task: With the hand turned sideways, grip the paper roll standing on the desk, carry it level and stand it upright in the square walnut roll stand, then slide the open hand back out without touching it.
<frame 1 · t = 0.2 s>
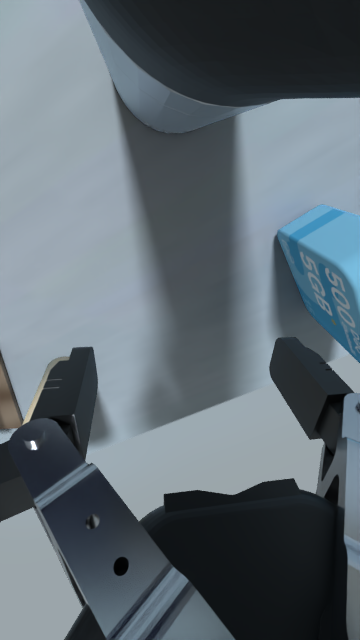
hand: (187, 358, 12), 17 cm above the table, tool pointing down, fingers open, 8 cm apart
paper roll: (68, 373, 34), on the table
data package: (309, 262, 30), on the table
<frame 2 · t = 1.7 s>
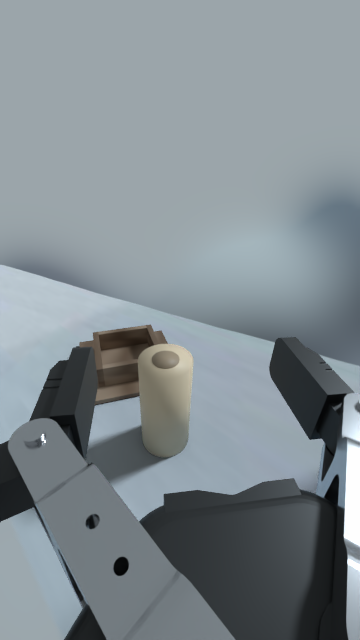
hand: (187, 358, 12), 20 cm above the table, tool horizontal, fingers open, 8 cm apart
roll stand: (128, 363, 42), on the table
paper roll: (165, 436, 31), on the table
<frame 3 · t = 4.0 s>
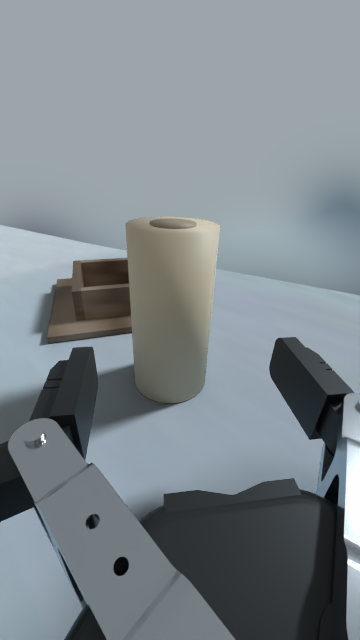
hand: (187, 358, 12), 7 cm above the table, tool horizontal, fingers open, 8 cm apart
roll stand: (120, 301, 32), on the table
paper roll: (170, 377, 21), on the table
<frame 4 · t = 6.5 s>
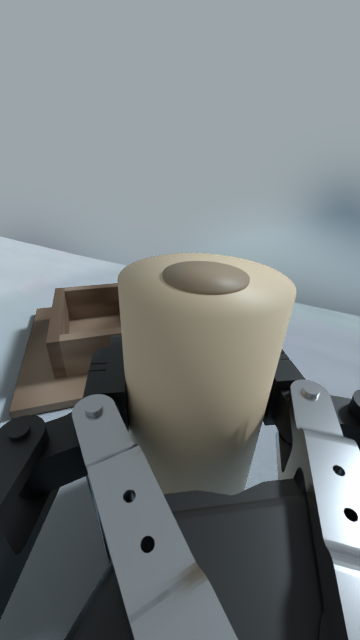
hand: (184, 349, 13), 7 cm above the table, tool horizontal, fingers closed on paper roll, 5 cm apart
roll stand: (115, 340, 25), on the table
paper roll: (186, 487, 14), on the table, touching gripper
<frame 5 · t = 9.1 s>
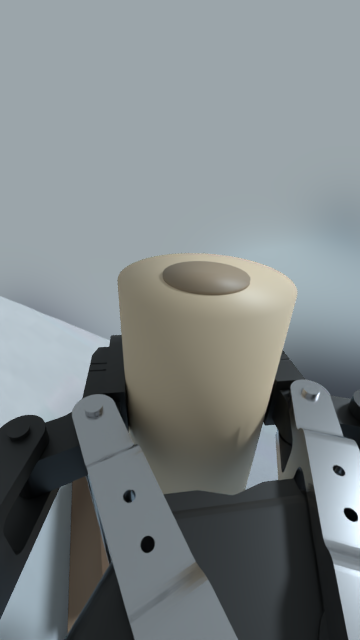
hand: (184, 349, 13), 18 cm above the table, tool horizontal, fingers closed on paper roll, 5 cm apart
roll stand: (160, 508, 23), on the table
paper roll: (187, 487, 14), point 11 cm above the table, touching gripper
when the fingers open (9 cm above the table, at t = 12.0 s): paper roll drops 2 cm, resting on roll stand.
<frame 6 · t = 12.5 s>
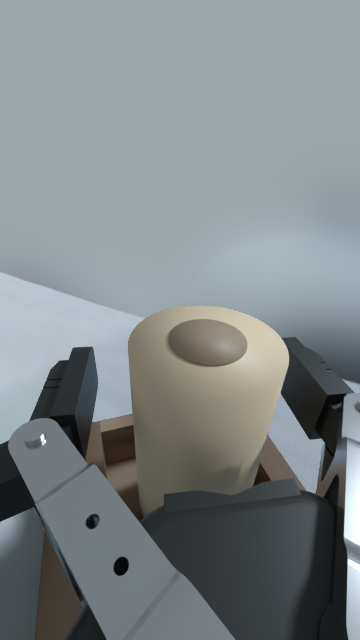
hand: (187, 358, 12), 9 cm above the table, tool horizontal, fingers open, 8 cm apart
roll stand: (184, 516, 15), on the table
paper roll: (189, 512, 15), point 1 cm above the table, touching roll stand
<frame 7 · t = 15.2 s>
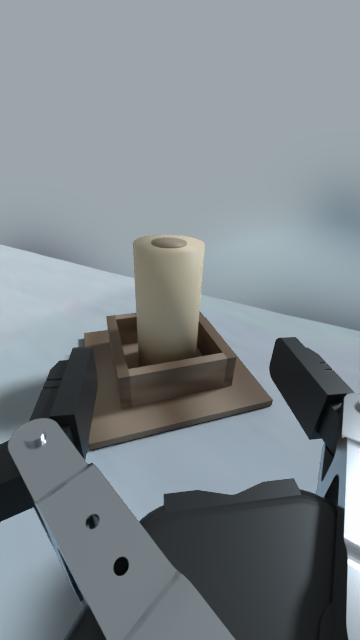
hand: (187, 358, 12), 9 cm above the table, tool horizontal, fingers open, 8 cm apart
roll stand: (164, 366, 26), on the table
paper roll: (167, 362, 26), point 1 cm above the table, touching roll stand
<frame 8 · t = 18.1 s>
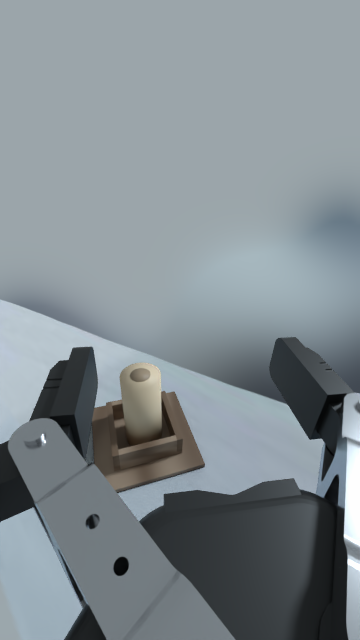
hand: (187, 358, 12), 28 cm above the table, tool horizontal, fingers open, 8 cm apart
roll stand: (142, 436, 41), on the table
paper roll: (144, 433, 41), point 1 cm above the table, touching roll stand
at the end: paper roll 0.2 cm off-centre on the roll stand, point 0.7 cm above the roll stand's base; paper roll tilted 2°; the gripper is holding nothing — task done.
